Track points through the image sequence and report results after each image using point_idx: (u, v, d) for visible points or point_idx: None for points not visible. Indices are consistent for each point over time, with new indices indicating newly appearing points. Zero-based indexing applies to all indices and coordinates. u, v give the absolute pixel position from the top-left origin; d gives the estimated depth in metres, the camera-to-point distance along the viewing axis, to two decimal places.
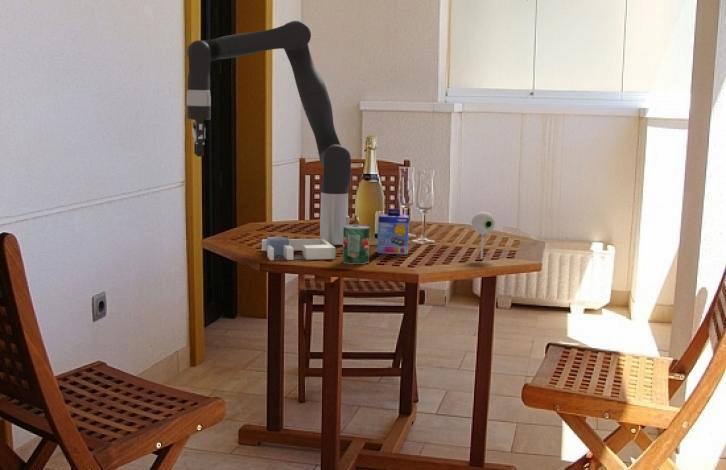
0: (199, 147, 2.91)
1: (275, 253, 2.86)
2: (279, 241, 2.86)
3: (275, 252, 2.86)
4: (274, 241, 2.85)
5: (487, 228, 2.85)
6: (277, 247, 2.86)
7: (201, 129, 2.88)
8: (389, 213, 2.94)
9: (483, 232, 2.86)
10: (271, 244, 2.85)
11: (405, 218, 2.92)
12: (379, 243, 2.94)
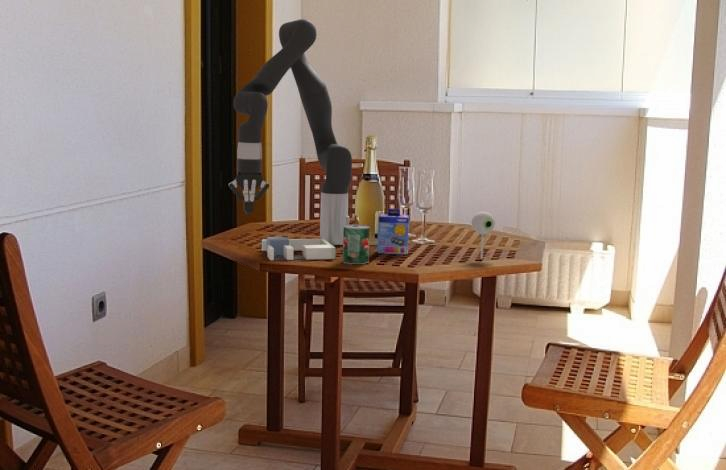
0: None
1: (275, 253, 2.86)
2: (279, 241, 2.86)
3: (275, 252, 2.86)
4: (274, 241, 2.85)
5: (487, 228, 2.85)
6: (277, 247, 2.86)
7: None
8: (389, 213, 2.94)
9: (483, 232, 2.86)
10: (271, 244, 2.85)
11: (405, 218, 2.92)
12: (379, 243, 2.94)
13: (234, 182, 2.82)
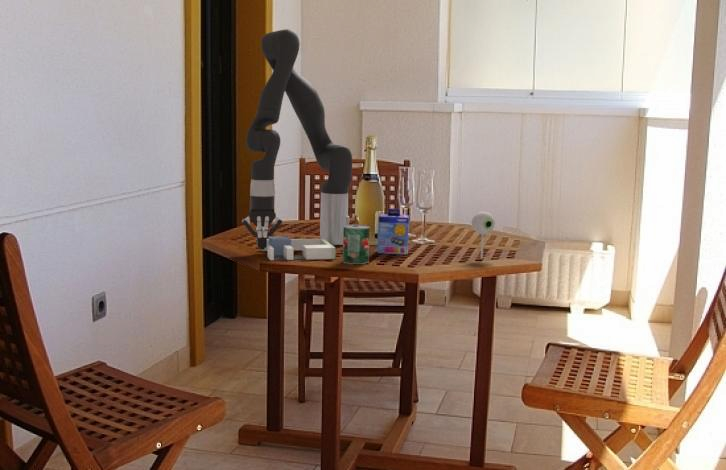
0: None
1: (277, 253, 2.86)
2: (281, 241, 2.86)
3: (277, 252, 2.86)
4: (276, 241, 2.85)
5: (487, 228, 2.85)
6: (279, 246, 2.86)
7: None
8: (389, 213, 2.94)
9: (483, 232, 2.86)
10: (273, 244, 2.85)
11: (405, 218, 2.92)
12: (379, 243, 2.94)
13: (247, 219, 2.85)
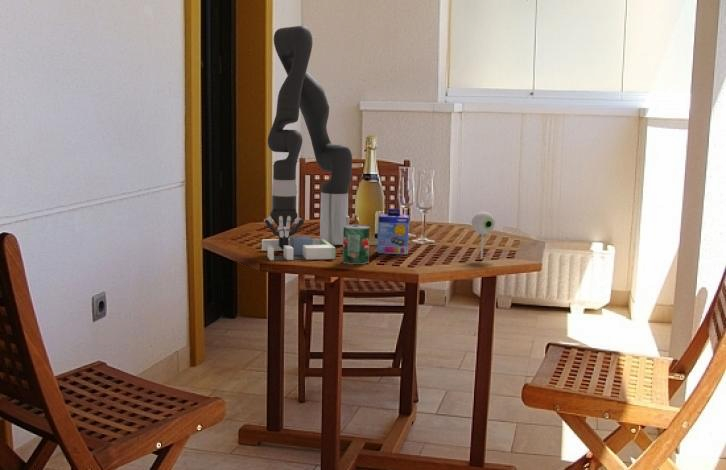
0: None
1: (299, 252, 2.88)
2: (303, 240, 2.87)
3: (299, 251, 2.88)
4: (298, 240, 2.87)
5: (487, 228, 2.85)
6: (301, 246, 2.88)
7: None
8: (389, 213, 2.94)
9: (483, 232, 2.86)
10: (295, 243, 2.87)
11: (405, 218, 2.92)
12: (379, 243, 2.94)
13: (269, 218, 2.87)
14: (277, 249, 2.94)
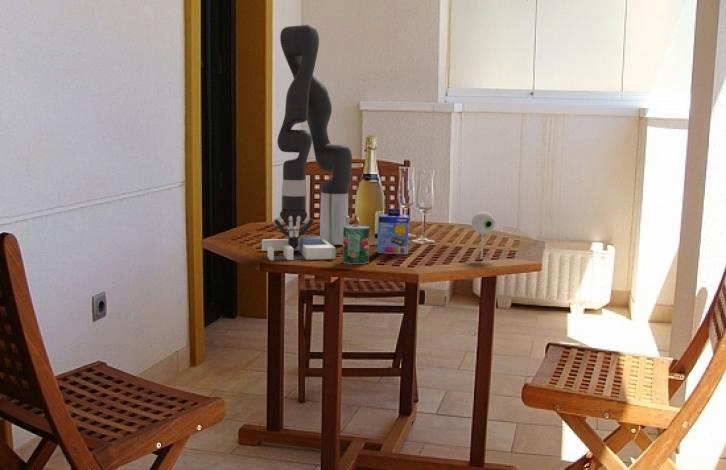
0: None
1: None
2: (312, 240, 2.88)
3: None
4: (307, 240, 2.88)
5: (487, 228, 2.85)
6: None
7: None
8: (389, 213, 2.94)
9: (483, 232, 2.86)
10: (304, 243, 2.88)
11: (405, 218, 2.92)
12: (379, 243, 2.94)
13: (279, 218, 2.87)
14: (277, 249, 2.94)
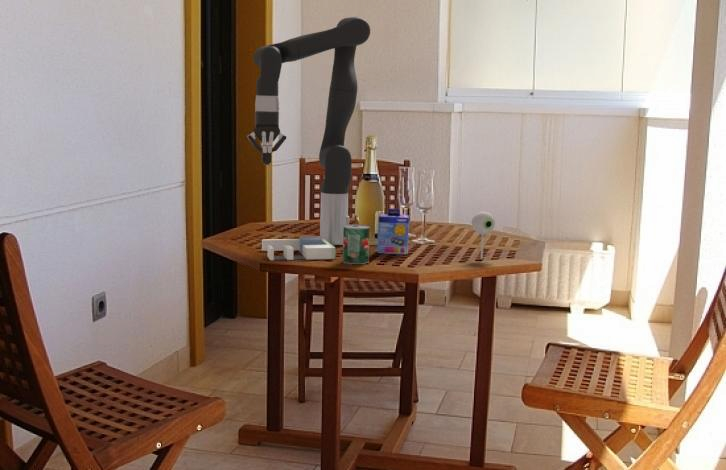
0: None
1: None
2: (312, 241, 2.88)
3: None
4: (308, 241, 2.88)
5: (487, 228, 2.85)
6: None
7: None
8: (389, 213, 2.94)
9: (483, 232, 2.86)
10: (305, 244, 2.88)
11: (405, 218, 2.92)
12: (379, 243, 2.94)
13: (252, 134, 2.93)
14: (277, 249, 2.94)
